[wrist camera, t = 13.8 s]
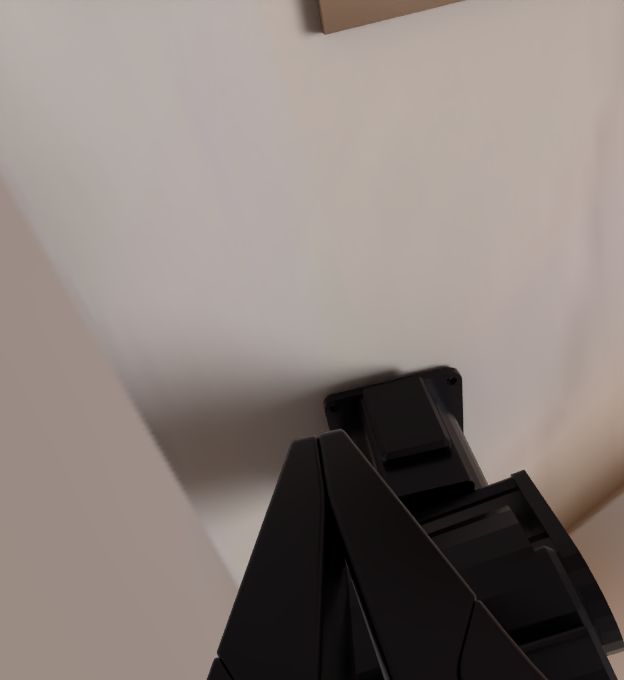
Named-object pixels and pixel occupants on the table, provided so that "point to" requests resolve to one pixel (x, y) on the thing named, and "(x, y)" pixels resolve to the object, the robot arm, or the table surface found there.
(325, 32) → the taupe inverted t block
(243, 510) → the table surface
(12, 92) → the table surface
